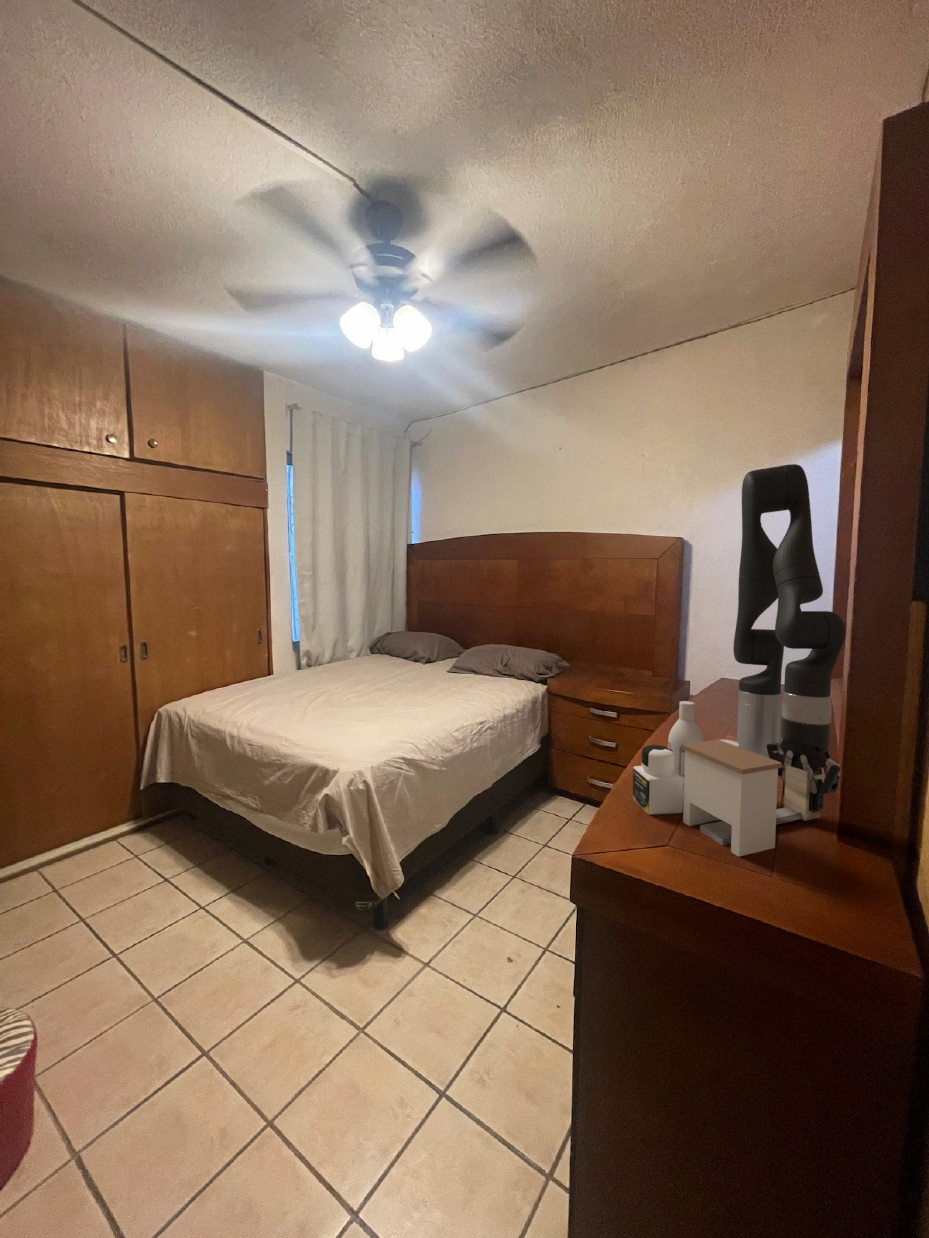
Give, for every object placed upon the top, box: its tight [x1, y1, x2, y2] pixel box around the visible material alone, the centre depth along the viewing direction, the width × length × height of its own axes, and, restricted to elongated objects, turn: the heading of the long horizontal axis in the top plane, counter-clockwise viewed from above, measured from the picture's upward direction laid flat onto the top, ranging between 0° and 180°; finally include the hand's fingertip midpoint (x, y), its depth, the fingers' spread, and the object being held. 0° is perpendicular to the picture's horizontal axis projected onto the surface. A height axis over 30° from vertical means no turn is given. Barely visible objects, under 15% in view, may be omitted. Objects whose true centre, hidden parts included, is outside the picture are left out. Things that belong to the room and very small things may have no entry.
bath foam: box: [667, 700, 705, 802], centre depth 99 cm, size 7×7×20 cm
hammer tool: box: [776, 766, 821, 826], centre depth 87 cm, size 16×4×9 cm, turn 109°
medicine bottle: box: [632, 744, 684, 816], centre depth 94 cm, size 7×7×12 cm
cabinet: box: [682, 739, 782, 857], centre depth 83 cm, size 9×13×15 cm
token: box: [699, 820, 732, 846], centre depth 83 cm, size 5×5×2 cm
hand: (801, 805), depth 89 cm, fingers closed on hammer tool, 4 cm apart
